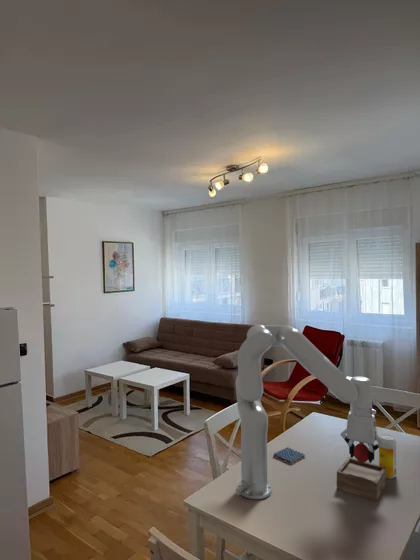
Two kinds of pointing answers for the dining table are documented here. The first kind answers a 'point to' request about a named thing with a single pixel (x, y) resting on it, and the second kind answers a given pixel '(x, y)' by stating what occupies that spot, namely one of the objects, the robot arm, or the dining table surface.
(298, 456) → the woven mat
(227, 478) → the dining table surface
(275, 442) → the dining table surface
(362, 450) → the pomegranate
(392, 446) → the beer can
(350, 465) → the walnut tray
